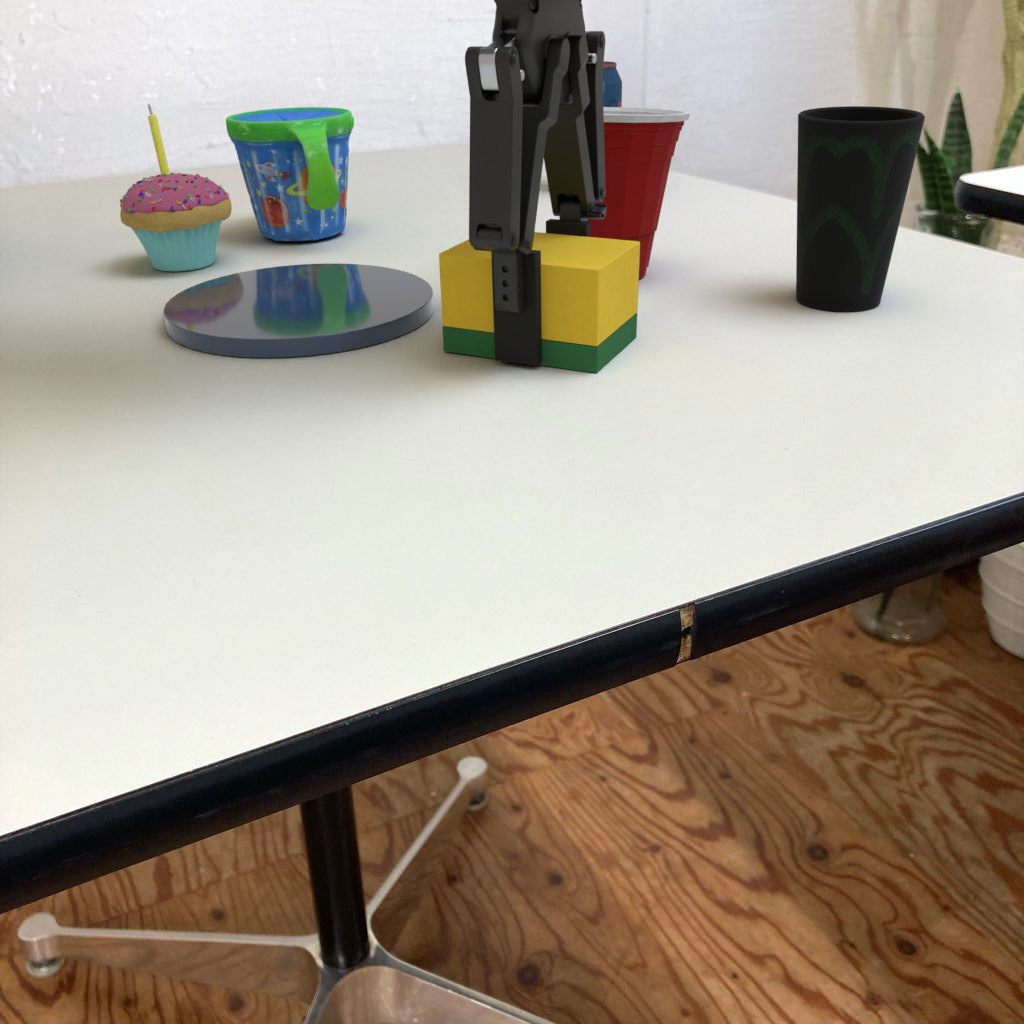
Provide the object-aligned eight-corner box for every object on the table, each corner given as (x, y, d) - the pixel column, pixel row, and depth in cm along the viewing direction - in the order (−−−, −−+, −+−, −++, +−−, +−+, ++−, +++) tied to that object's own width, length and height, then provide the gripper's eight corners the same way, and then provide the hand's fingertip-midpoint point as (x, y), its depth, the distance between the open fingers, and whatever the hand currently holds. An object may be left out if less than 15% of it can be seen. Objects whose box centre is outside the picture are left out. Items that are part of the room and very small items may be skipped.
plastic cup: (705, 266, 80) (716, 99, 74) (638, 301, 72) (645, 117, 66) (584, 250, 85) (585, 93, 80) (509, 281, 77) (505, 109, 72)
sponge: (443, 351, 63) (438, 253, 61) (493, 319, 69) (491, 227, 66) (596, 373, 60) (599, 269, 57) (636, 337, 65) (640, 241, 62)
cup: (763, 305, 70) (780, 118, 65) (802, 279, 76) (821, 104, 70) (877, 322, 67) (906, 124, 61) (910, 293, 72) (939, 109, 67)
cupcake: (114, 264, 85) (82, 106, 79) (211, 246, 89) (187, 96, 84) (157, 284, 79) (126, 116, 73) (258, 264, 84) (237, 104, 78)
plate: (106, 338, 68) (102, 320, 67) (274, 270, 82) (272, 254, 81) (340, 373, 61) (338, 353, 60) (478, 292, 75) (478, 276, 74)
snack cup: (232, 223, 98) (215, 107, 93) (343, 212, 101) (332, 99, 96) (255, 261, 84) (236, 129, 80) (382, 247, 88) (371, 119, 83)
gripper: (526, -99, 44) (534, 406, 55) (668, -86, 60) (653, 303, 71) (375, -91, 47) (411, 387, 58) (549, -80, 63) (552, 293, 74)
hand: (544, 340), depth 64 cm, fingers closed on sponge, 7 cm apart
